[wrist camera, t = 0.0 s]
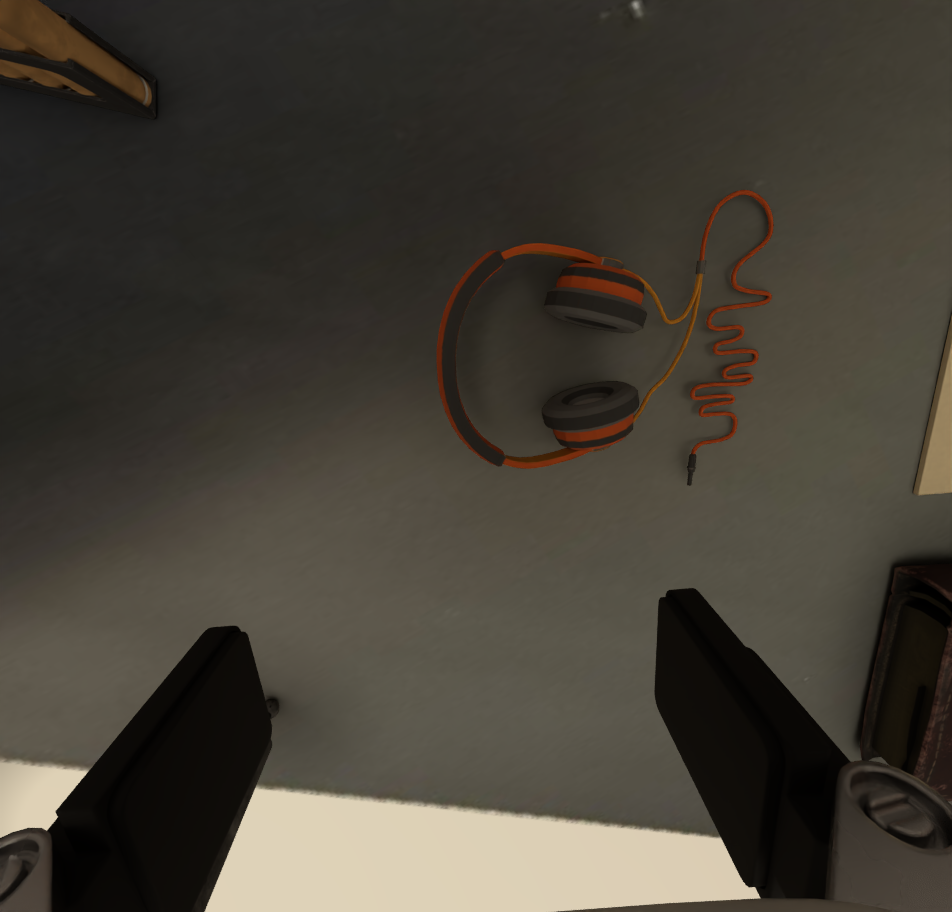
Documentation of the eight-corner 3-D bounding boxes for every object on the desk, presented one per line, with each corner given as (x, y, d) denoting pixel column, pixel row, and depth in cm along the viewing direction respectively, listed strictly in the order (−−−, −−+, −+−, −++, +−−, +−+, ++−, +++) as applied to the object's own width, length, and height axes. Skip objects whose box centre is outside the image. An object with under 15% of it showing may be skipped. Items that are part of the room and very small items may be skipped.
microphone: (219, 725, 35) (-73, 1213, 16) (235, 655, 33) (-75, 1111, 14) (308, 745, 36) (130, 1233, 17) (328, 677, 34) (153, 1139, 15)
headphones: (749, 202, 28) (419, 190, 23) (835, 178, 23) (437, 156, 18) (712, 466, 33) (436, 499, 28) (776, 492, 28) (454, 538, 23)
